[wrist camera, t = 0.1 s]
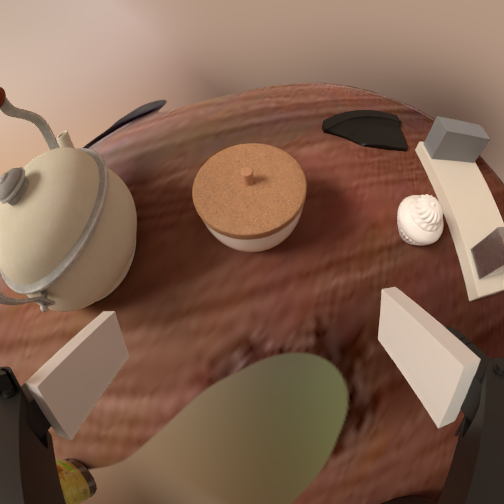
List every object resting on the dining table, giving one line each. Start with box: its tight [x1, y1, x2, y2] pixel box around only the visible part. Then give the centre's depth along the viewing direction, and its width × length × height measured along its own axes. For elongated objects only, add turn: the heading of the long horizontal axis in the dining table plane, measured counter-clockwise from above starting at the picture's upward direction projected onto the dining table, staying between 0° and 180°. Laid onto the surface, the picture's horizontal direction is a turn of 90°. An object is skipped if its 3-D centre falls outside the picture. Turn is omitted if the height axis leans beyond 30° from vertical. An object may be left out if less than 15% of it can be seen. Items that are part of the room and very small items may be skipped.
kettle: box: [0, 87, 137, 312], centre depth 21 cm, size 25×18×25 cm
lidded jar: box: [192, 143, 307, 252], centre depth 28 cm, size 11×11×9 cm
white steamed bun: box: [397, 194, 443, 246], centre depth 27 cm, size 6×6×7 cm
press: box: [415, 116, 504, 301], centre depth 26 cm, size 24×11×8 cm, turn 4°
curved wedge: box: [322, 110, 407, 152], centre depth 37 cm, size 8×14×2 cm, turn 85°
